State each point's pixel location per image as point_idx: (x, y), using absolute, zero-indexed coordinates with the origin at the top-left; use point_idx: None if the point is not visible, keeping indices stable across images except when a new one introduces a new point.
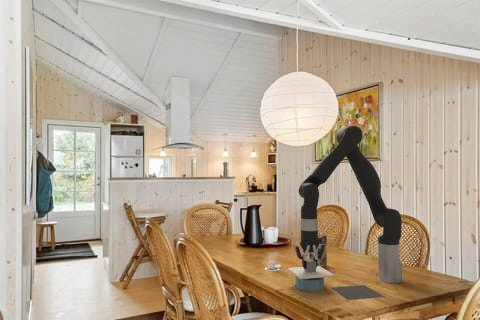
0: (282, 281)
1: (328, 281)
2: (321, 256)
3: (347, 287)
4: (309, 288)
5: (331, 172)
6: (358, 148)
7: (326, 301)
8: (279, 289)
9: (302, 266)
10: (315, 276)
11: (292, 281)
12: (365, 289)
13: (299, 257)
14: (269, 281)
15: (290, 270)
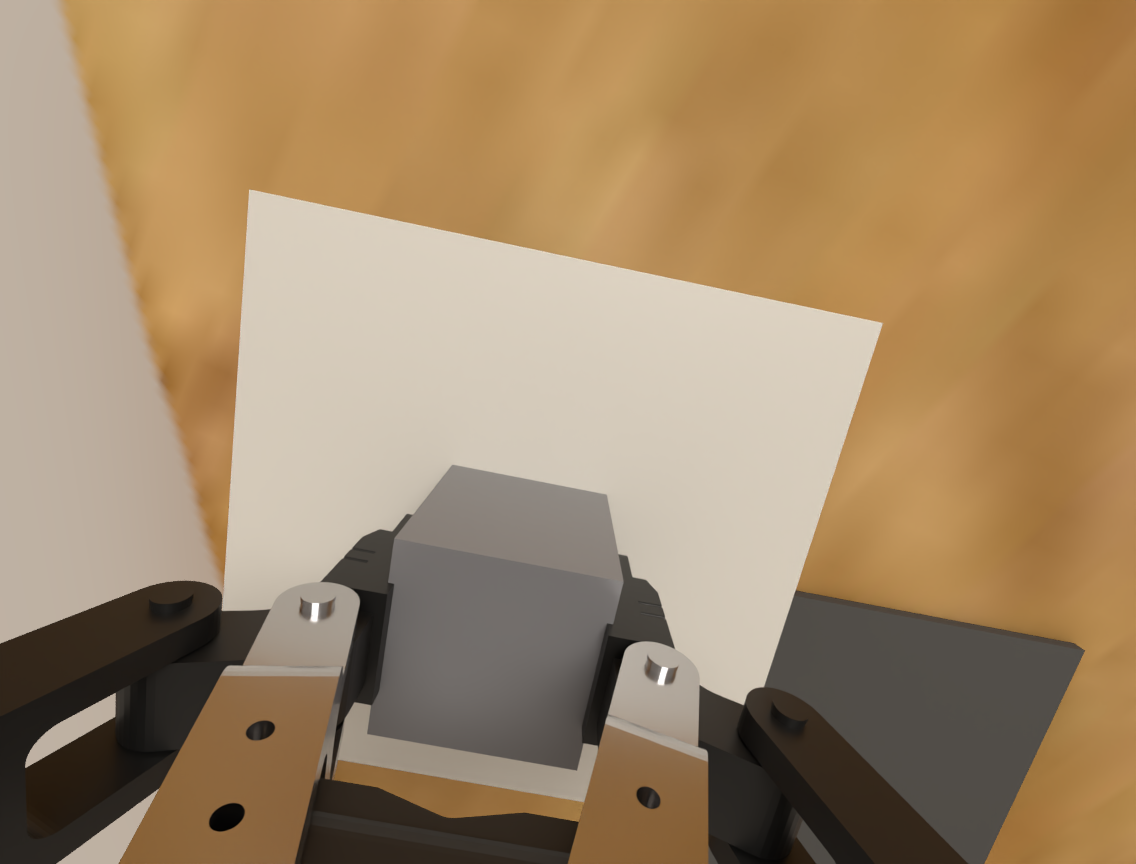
0: (349, 88)
1: (878, 349)
2: (775, 859)
3: (870, 646)
4: None
5: None
6: None
7: (461, 814)
8: (191, 372)
9: (368, 539)
10: (451, 772)
11: (473, 149)
12: (972, 754)
13: (104, 753)
14: (178, 3)
15: (246, 337)
